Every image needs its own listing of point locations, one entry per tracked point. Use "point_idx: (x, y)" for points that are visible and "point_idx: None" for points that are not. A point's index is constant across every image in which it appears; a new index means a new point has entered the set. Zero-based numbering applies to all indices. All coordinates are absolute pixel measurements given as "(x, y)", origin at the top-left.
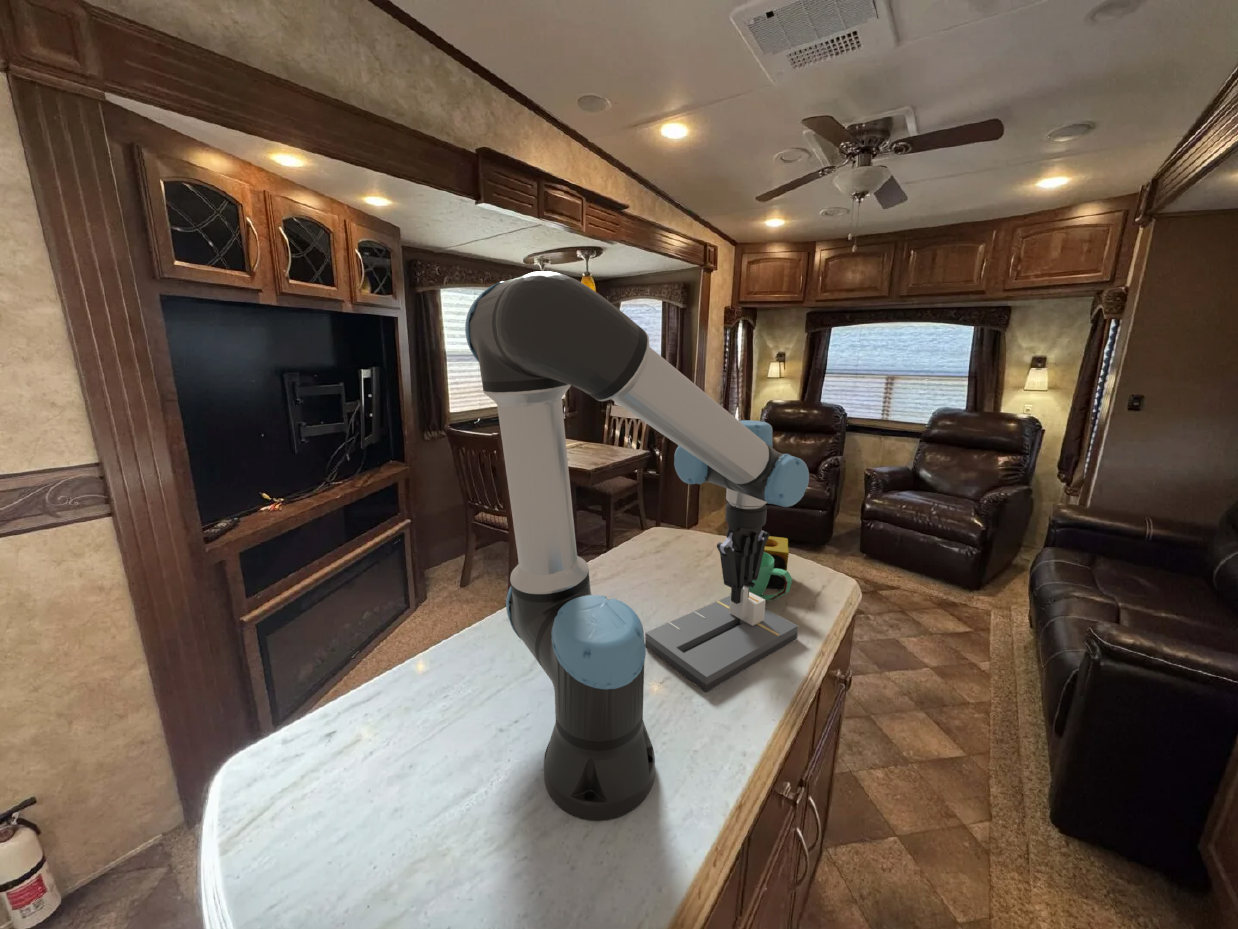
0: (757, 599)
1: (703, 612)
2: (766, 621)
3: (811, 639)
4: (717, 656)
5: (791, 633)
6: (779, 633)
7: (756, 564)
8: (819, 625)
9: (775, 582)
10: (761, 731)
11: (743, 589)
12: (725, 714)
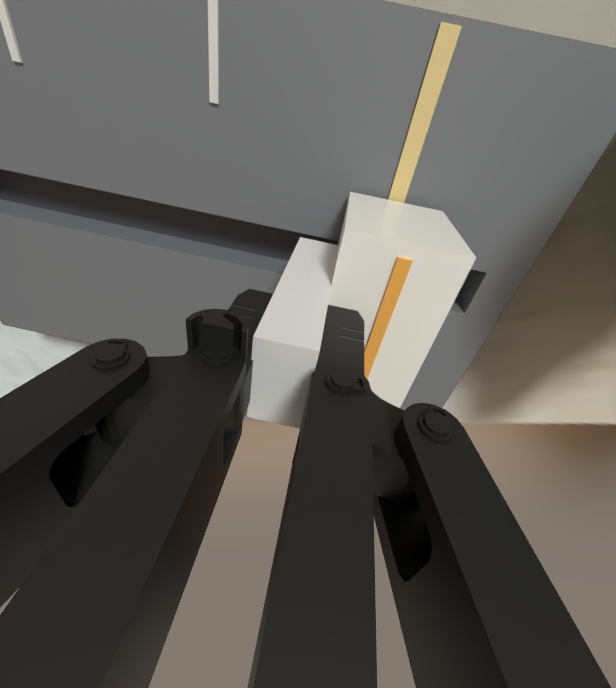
0: (375, 383)
1: (257, 44)
2: None
3: (451, 408)
4: (82, 306)
5: None
6: None
7: (411, 650)
8: (552, 408)
9: None
10: None
11: (247, 415)
12: (52, 356)
